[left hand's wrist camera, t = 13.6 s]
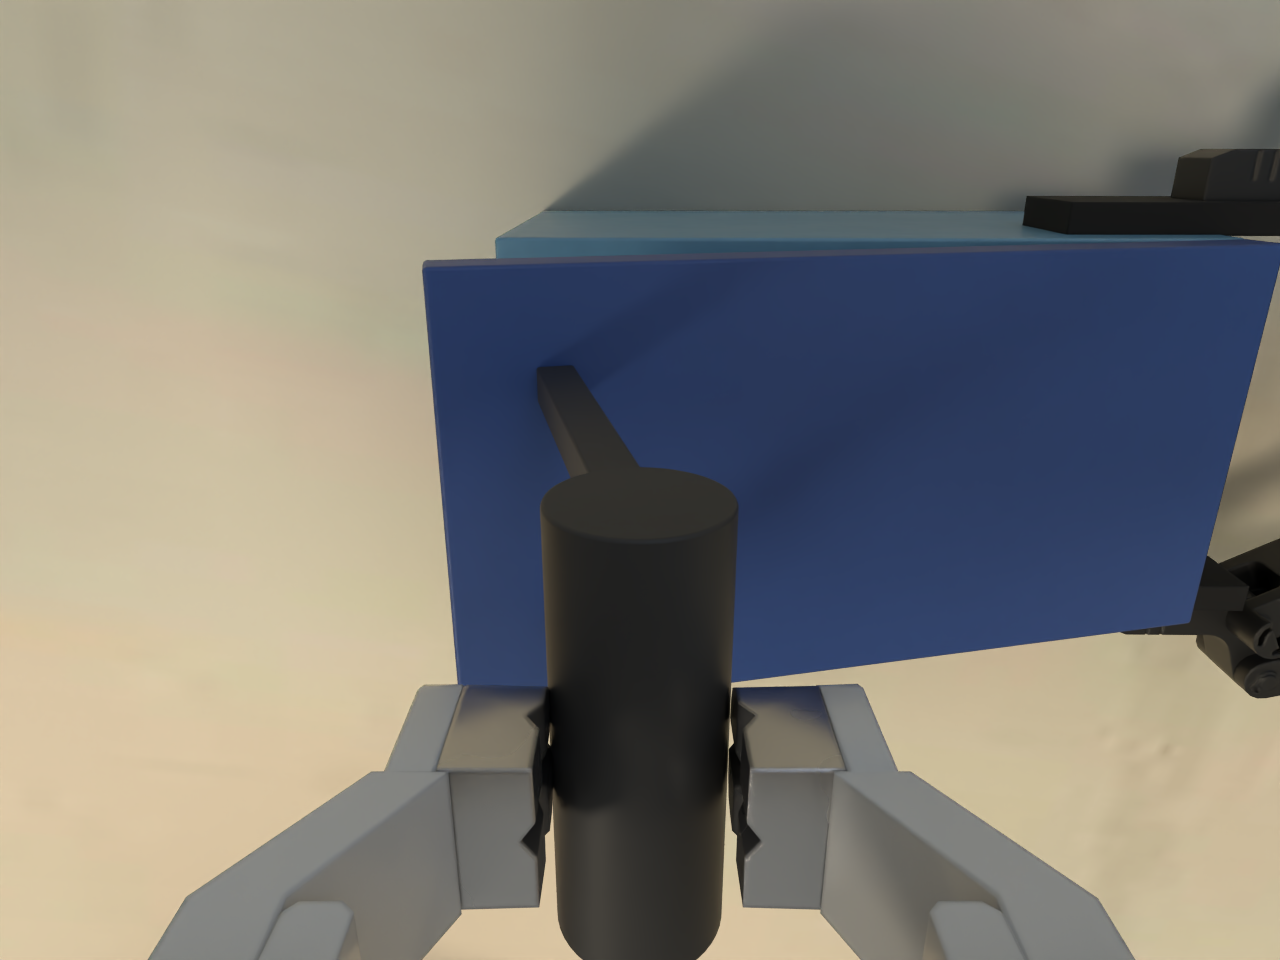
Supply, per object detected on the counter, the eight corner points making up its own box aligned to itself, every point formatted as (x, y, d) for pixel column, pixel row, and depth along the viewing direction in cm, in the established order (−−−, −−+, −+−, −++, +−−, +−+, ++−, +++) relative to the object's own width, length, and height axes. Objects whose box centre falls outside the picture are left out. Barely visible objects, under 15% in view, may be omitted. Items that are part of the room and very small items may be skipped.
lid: (459, 690, 19) (481, 1113, 11) (422, 260, 16) (415, 385, 8) (1159, 603, 23) (1583, 869, 15) (1244, 238, 20) (1857, 307, 11)
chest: (552, 477, 32) (514, 597, 23) (542, 210, 29) (494, 237, 20) (1025, 480, 32) (1162, 602, 23) (1070, 211, 28) (1248, 238, 20)
